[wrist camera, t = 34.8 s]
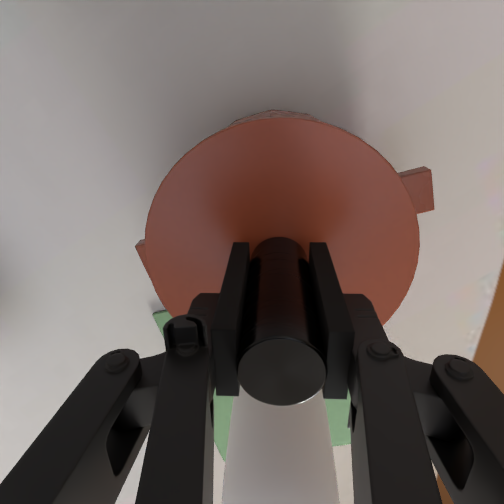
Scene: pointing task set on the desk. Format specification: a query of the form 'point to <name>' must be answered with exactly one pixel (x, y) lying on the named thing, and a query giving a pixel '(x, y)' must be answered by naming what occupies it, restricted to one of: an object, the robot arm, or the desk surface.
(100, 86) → the desk surface
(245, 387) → the lid
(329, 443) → the milk bottle
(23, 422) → the desk surface
